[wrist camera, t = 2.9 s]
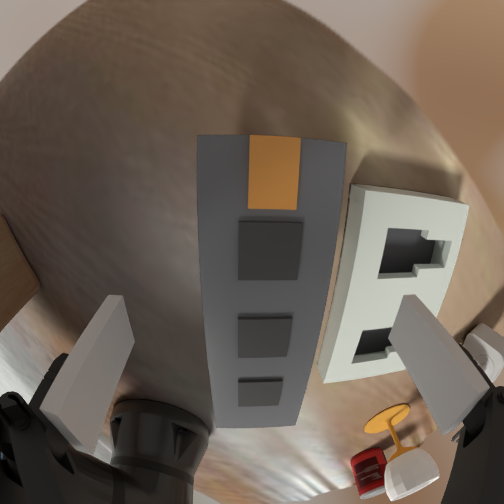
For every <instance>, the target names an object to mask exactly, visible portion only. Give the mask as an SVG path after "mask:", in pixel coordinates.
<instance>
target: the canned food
mask: <svg viewBox="0 0 504 504" xmlns="http://www.w3.org/2000/svg"><path fill="white" fill-rule="evenodd" d="M387 464H388V463H387V460H386V458H385V455H384V452H383V450H382V449H381V448H372V449H368V450H365V451H363V452H361V453H359V454H357V455H355V456H354V457H353V458H352V459H351V467H352V470H353V474H354V477H355V481H356V484H357V488H358V491H359V495H360V498H361V499H366V498H371V497H374V496H377V495H379V494H381V493H384V492H386V488H385V478H384V475H385V469H386V465H387Z"/></svg>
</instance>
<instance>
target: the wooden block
mask: <svg viewBox="0 0 504 504" xmlns="http://www.w3.org/2000/svg"><path fill="white" fill-rule="evenodd" d="M39 286H40V284H39V280H38V278H37V277H36V275H35V274H34V272H33V270H32V269H31V267H30V265H29V264H28V262H27V260H26V259H25V257H24V255H23V253H22V251H21V250H20V248H19V246H18V244H17V242H16V240H15V238H14V236H13V234H12V232H11V230H10V228H9V226H8V224H7V222H6V220H5V218H4V217H3V216H2V215H0V332H1V331H2V330H3V328H4V327H5V326H6V325H7V324H8V323H9V322H10V320H11V319H12V318H13V317H14V316H15V315H16V314H17V313H18V312H19V311H20V310H21V308H22V307H23V306H24V305H25V304H26V303H27V302H28V301H29V300H30V299H31V298H32V297H33V296H34V295H35V294H36V293H37V291H38V288H39Z"/></svg>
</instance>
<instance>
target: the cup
mask: <svg viewBox="0 0 504 504" xmlns="http://www.w3.org/2000/svg"><path fill="white" fill-rule="evenodd" d="M409 410H410V407H409V406H408V405H406V404H400V405H396V406H393V407H390V408H388V409H386V410H384V411H382V412H380V413H379V414H377V415H376V416H374V417H373V418H372V419H370V420H369V421H368V423H367V424H366V425H365V429H364V431H366V432H367V433H377V432H381V431H384V430H386V429H389V430H390V432H391V435H392V437H393V440H394V442H395V444H396V447H397V451H396V453H395V454H394V455H393V456H391V458H390V460H389V462H388V464H387V465H386V469H385V475H384V478H385V488H386V493H387V495H388V497H389V498H390V500H391V501H394V500H397V499H401V498H403V497H405V496H408V495H410V494H412V493H414V492H416V491H418V490H420V489H422V488H424V487H425V486H427V485H429V484H430V483H432V482H433V481H435V480H436V479H438V478H439V477H440V475H439V470H438V467H437V465H436V464H435V462H434V460H433V459H432V458H431V456H430V455H429V454H428V453H427V452H426V451H424V450H422V449H421V448H417V447H402V446H401V444H400V441H399V439H398V437H397V434H396V432H395V430H394V427H393V426H394V425H396V424H397V423H399V422H400V421H401V420H402V419H404V418H405V416H406V415H407V414H408V413H409Z"/></svg>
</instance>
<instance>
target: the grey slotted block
mask: <svg viewBox="0 0 504 504" xmlns="http://www.w3.org/2000/svg"><path fill="white" fill-rule="evenodd" d="M346 145H347V143H342V142H335V141H326V140H317V139H307V138H298V137H284V136H266V135H197V212H198V240H199V261H200V278H201V293H202V306H203V319H204V330H205V341H206V351H207V360H208V369H209V378H210V386H211V394H212V402H213V409H214V417H215V423H216V428H263V427H280V426H292V425H296V421H297V418H298V415H299V411H300V408H301V405H302V401H303V398H304V394H305V390H306V387H307V383H308V379H309V376H310V372H311V368H312V364H313V360H314V356H315V352H316V347H317V343H318V339H319V334H320V330H321V325H322V320H323V316H324V311H325V306H326V301H327V295H328V290H329V284H330V279H331V273H332V267H333V261H334V255H335V248H336V241H337V234H338V227H339V219H340V211H341V202H342V193H343V183H344V172H345V160H346Z"/></svg>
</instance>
